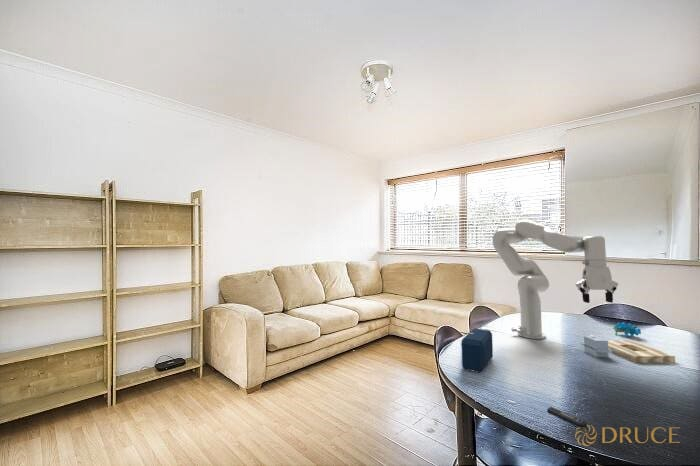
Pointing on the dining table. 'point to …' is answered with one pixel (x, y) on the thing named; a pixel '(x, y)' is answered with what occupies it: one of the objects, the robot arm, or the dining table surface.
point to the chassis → (638, 352)
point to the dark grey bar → (567, 417)
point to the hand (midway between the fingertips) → (597, 302)
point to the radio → (477, 349)
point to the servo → (596, 346)
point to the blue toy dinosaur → (626, 329)
